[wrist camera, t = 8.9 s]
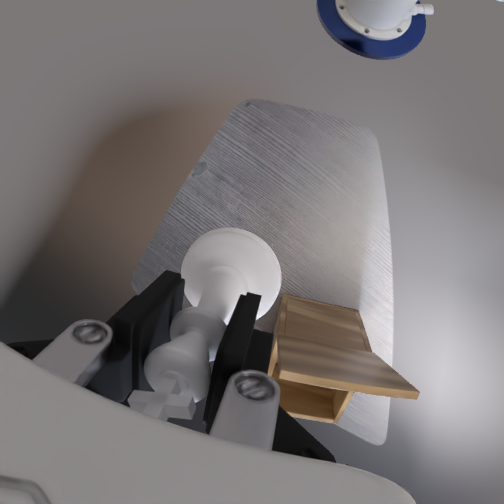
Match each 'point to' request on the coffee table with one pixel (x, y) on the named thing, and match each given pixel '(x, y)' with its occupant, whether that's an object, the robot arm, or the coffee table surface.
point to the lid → (339, 368)
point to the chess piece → (206, 318)
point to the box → (324, 331)
